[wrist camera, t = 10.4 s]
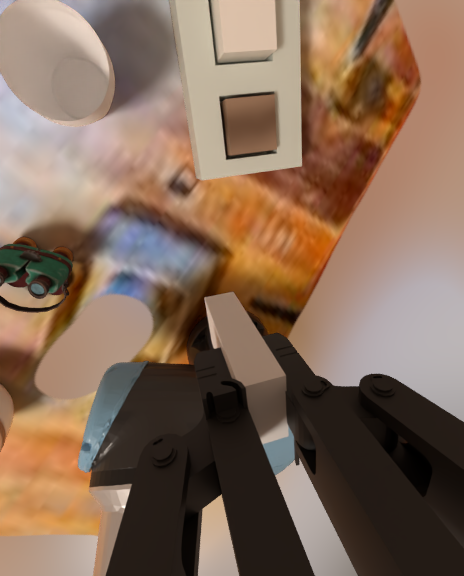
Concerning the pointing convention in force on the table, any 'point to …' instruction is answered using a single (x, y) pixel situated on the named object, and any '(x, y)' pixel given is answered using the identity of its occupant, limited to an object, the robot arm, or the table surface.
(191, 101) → the key panel
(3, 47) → the cup
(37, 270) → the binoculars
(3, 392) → the lidded bowl
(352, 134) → the table surface
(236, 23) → the ivory key
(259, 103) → the walnut key
